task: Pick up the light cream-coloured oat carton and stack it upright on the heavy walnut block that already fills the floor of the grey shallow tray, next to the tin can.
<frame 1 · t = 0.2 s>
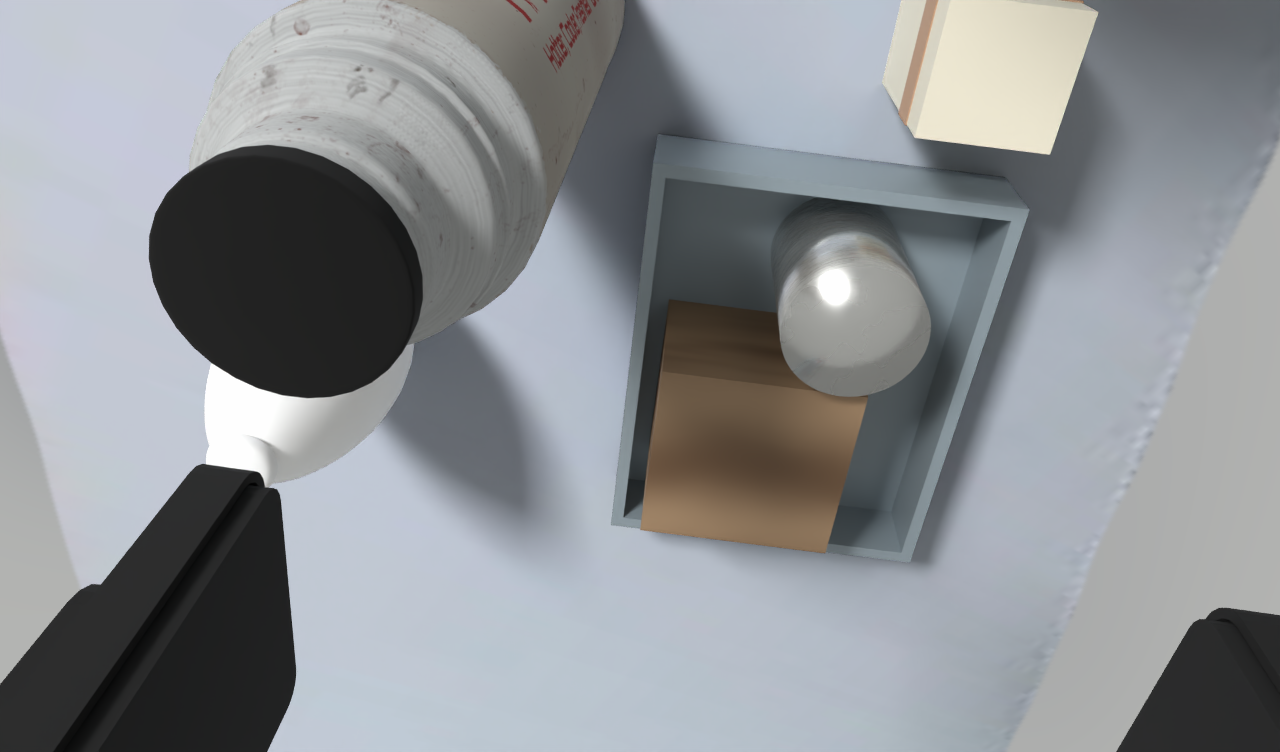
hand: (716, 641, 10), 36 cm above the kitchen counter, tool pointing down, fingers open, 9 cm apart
grey shallow tray: (790, 344, 49), on the kitchen counter
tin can: (833, 253, 45), point 1 cm above the kitchen counter, touching grey shallow tray
thermos bottle: (533, 2, 41), on the kitchen counter
walnut block: (744, 386, 50), point 1 cm above the kitchen counter, touching grey shallow tray
sauce bottle: (366, 289, 49), on the kitchen counter
oat carton: (954, 30, 40), on the kitchen counter
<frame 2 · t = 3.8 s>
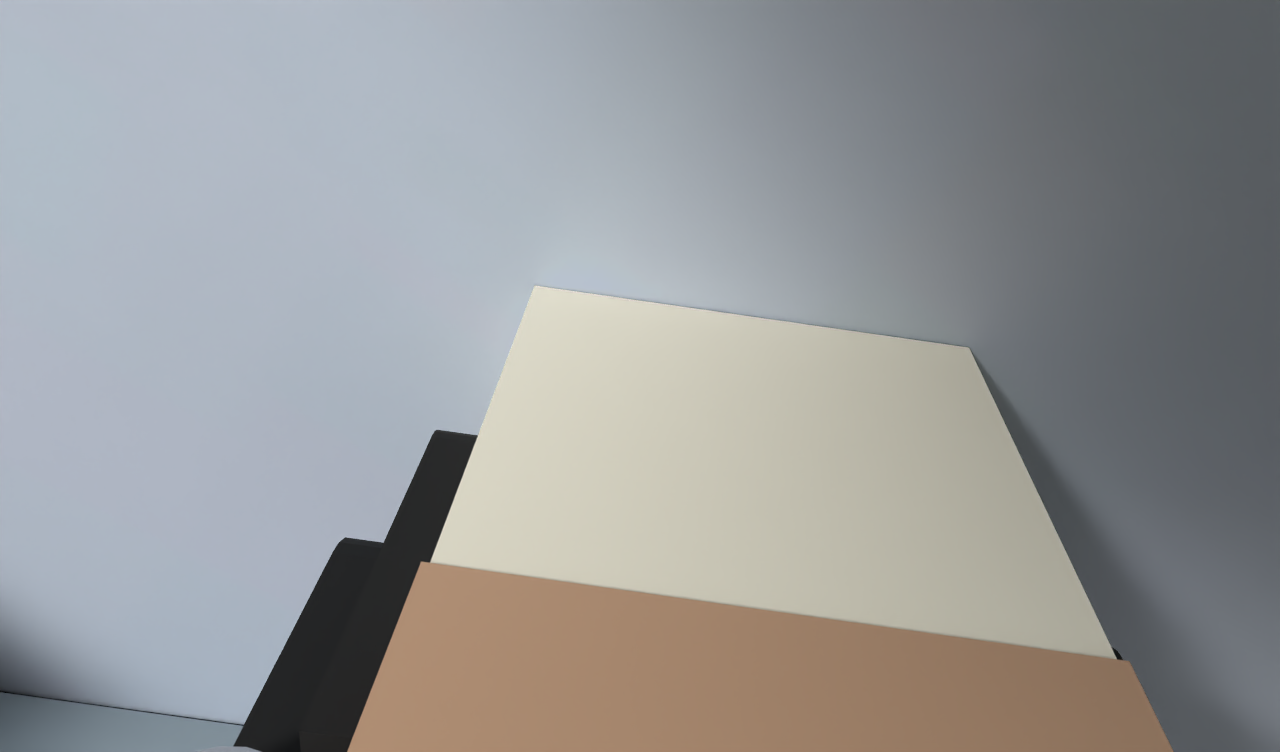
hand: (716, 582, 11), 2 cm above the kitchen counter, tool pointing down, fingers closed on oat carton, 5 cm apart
oat carton: (715, 489, 12), on the kitchen counter, touching gripper
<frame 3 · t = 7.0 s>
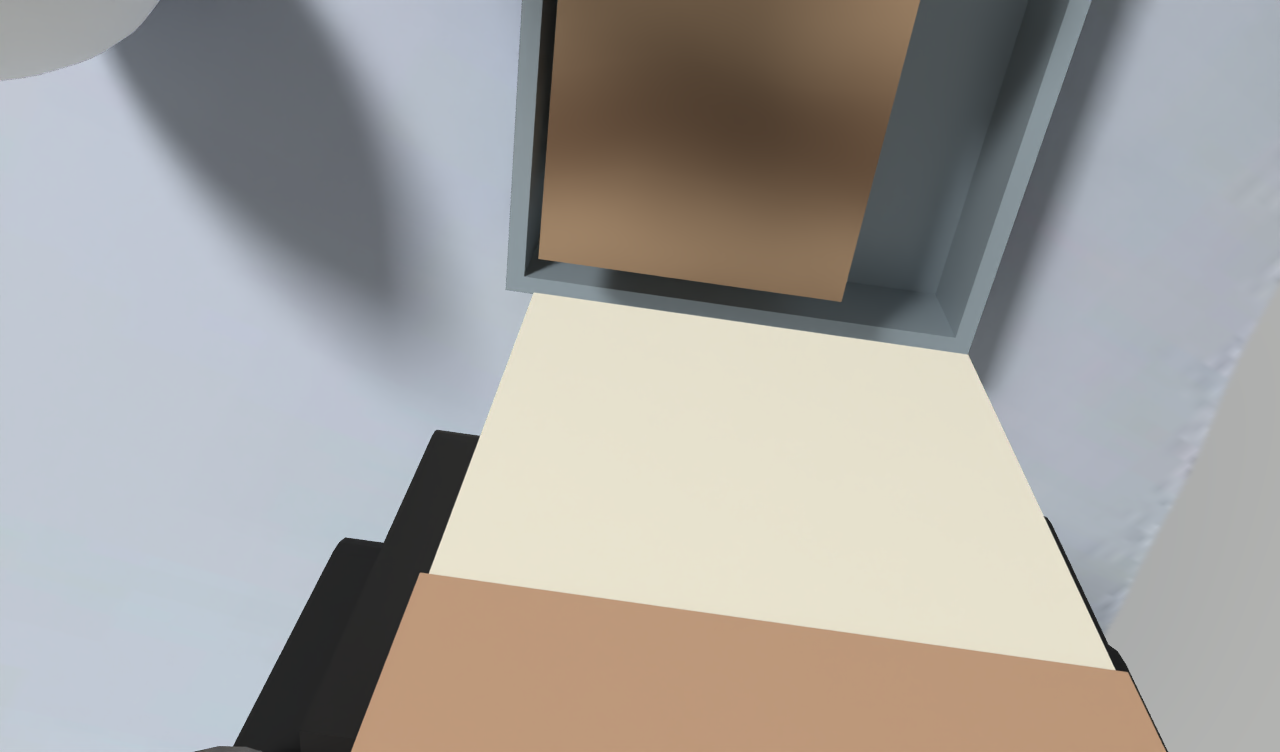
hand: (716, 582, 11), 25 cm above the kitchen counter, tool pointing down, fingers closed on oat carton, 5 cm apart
walnut block: (715, 69, 32), point 1 cm above the kitchen counter, touching grey shallow tray
oat carton: (715, 495, 12), point 23 cm above the kitchen counter, touching gripper
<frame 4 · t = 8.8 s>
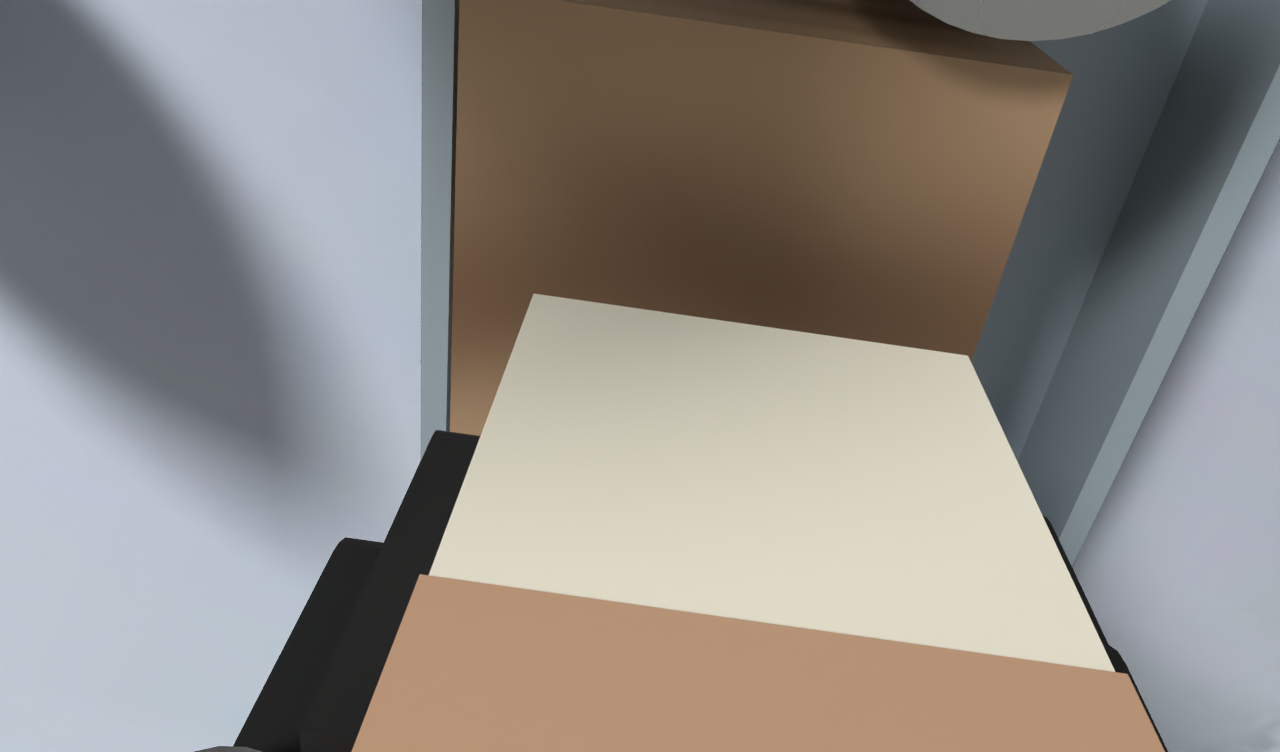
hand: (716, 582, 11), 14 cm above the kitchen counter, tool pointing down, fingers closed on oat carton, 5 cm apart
grey shallow tray: (822, 65, 21), on the kitchen counter
walnut block: (715, 168, 22), point 1 cm above the kitchen counter, touching grey shallow tray
oat carton: (714, 496, 12), point 12 cm above the kitchen counter, touching gripper
when the fingers open (10 cm above the kitchen counter, at t = 10.5 s): oat carton stays where it is, resting on walnut block.
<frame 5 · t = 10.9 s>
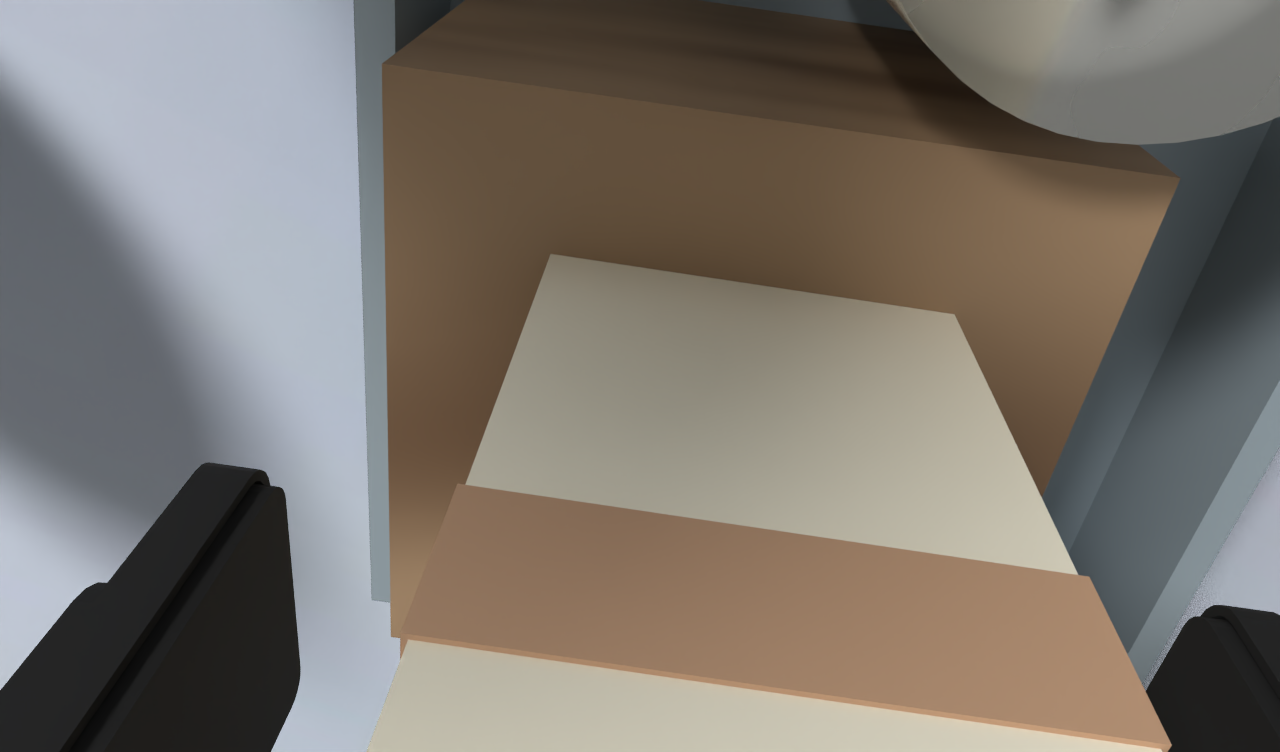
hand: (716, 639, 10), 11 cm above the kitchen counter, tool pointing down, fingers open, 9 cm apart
grey shallow tray: (840, 127, 18), on the kitchen counter
walnut block: (715, 245, 19), point 1 cm above the kitchen counter, touching grey shallow tray, oat carton
oat carton: (717, 449, 13), point 8 cm above the kitchen counter, touching walnut block
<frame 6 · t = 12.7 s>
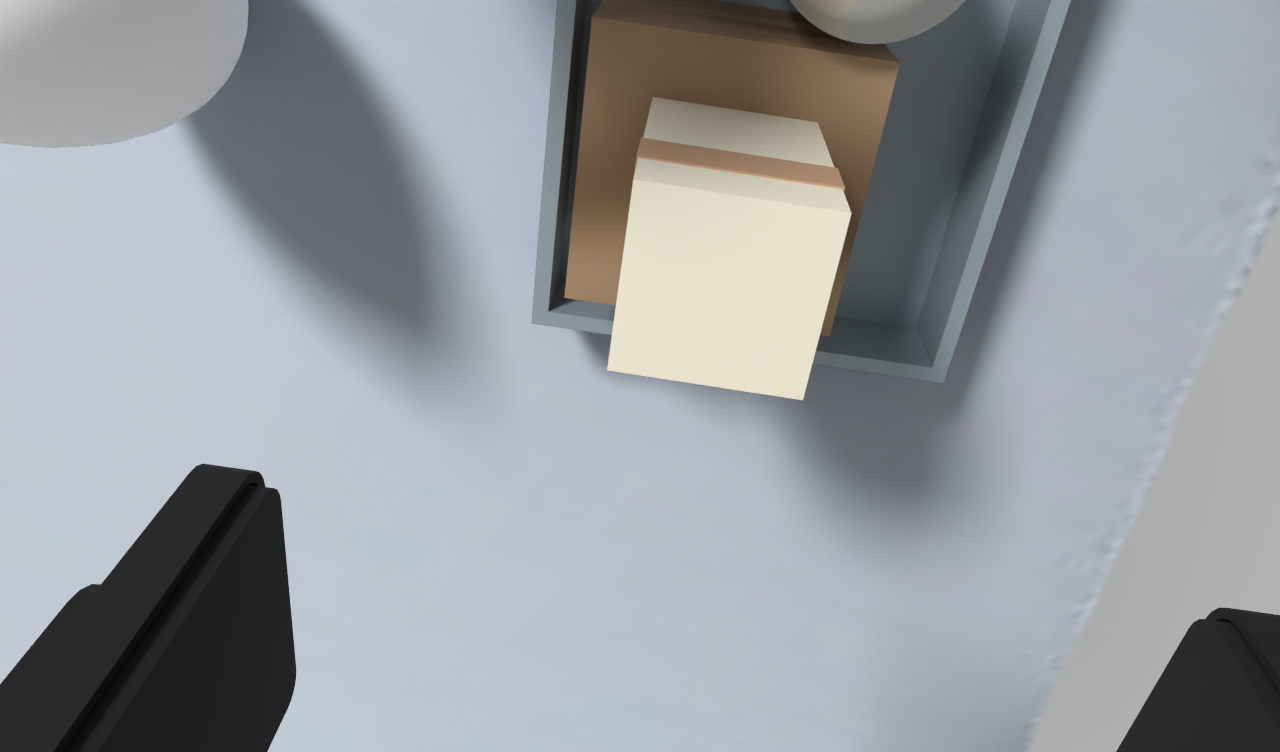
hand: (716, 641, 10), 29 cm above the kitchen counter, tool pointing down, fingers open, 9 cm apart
grey shallow tray: (783, 66, 35), on the kitchen counter
walnut block: (718, 129, 36), point 1 cm above the kitchen counter, touching grey shallow tray, oat carton
oat carton: (720, 189, 30), point 8 cm above the kitchen counter, touching walnut block
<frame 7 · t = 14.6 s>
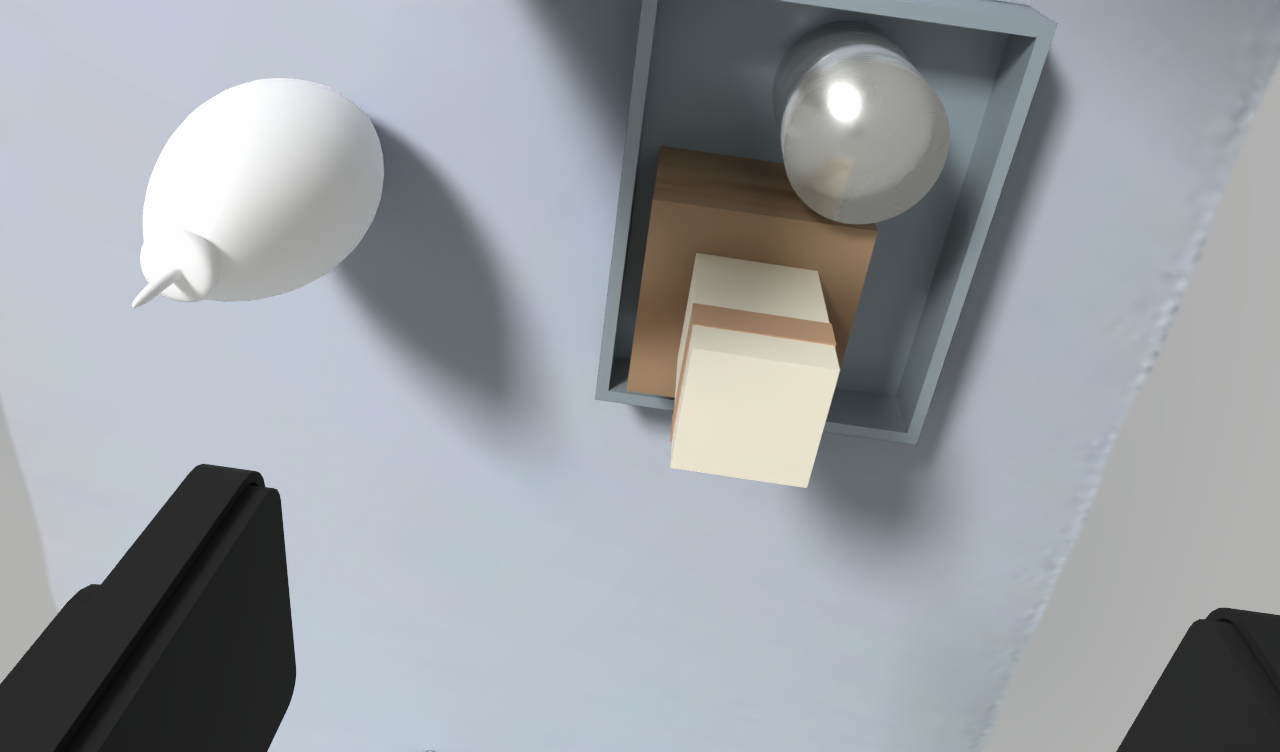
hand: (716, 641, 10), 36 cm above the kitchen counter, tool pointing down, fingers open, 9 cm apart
grey shallow tray: (791, 202, 45), on the kitchen counter
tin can: (840, 92, 42), point 1 cm above the kitchen counter, touching grey shallow tray
walnut block: (740, 249, 46), point 1 cm above the kitchen counter, touching grey shallow tray, oat carton
sauce bottle: (333, 135, 45), on the kitchen counter
oat carton: (745, 316, 40), point 8 cm above the kitchen counter, touching walnut block
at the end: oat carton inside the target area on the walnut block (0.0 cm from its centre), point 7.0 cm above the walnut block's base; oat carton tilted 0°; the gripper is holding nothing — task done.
